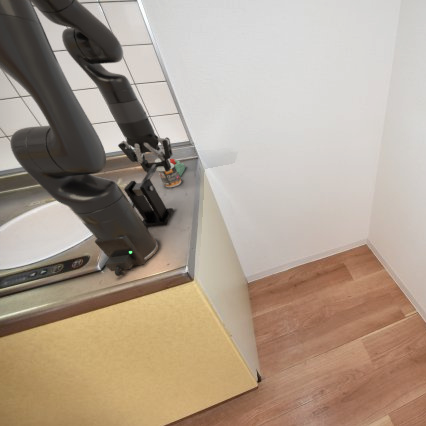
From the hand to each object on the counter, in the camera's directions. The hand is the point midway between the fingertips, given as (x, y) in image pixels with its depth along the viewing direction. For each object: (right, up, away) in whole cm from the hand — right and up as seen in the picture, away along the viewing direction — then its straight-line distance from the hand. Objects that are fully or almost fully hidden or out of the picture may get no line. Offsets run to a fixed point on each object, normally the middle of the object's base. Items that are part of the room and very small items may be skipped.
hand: (159, 171), depth 77 cm
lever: (+1, -4, -5) cm, 7 cm away
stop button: (-6, +6, +17) cm, 19 cm away
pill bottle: (-3, -3, +12) cm, 13 cm away
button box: (-6, +3, +19) cm, 20 cm away
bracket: (+2, -16, -4) cm, 16 cm away
